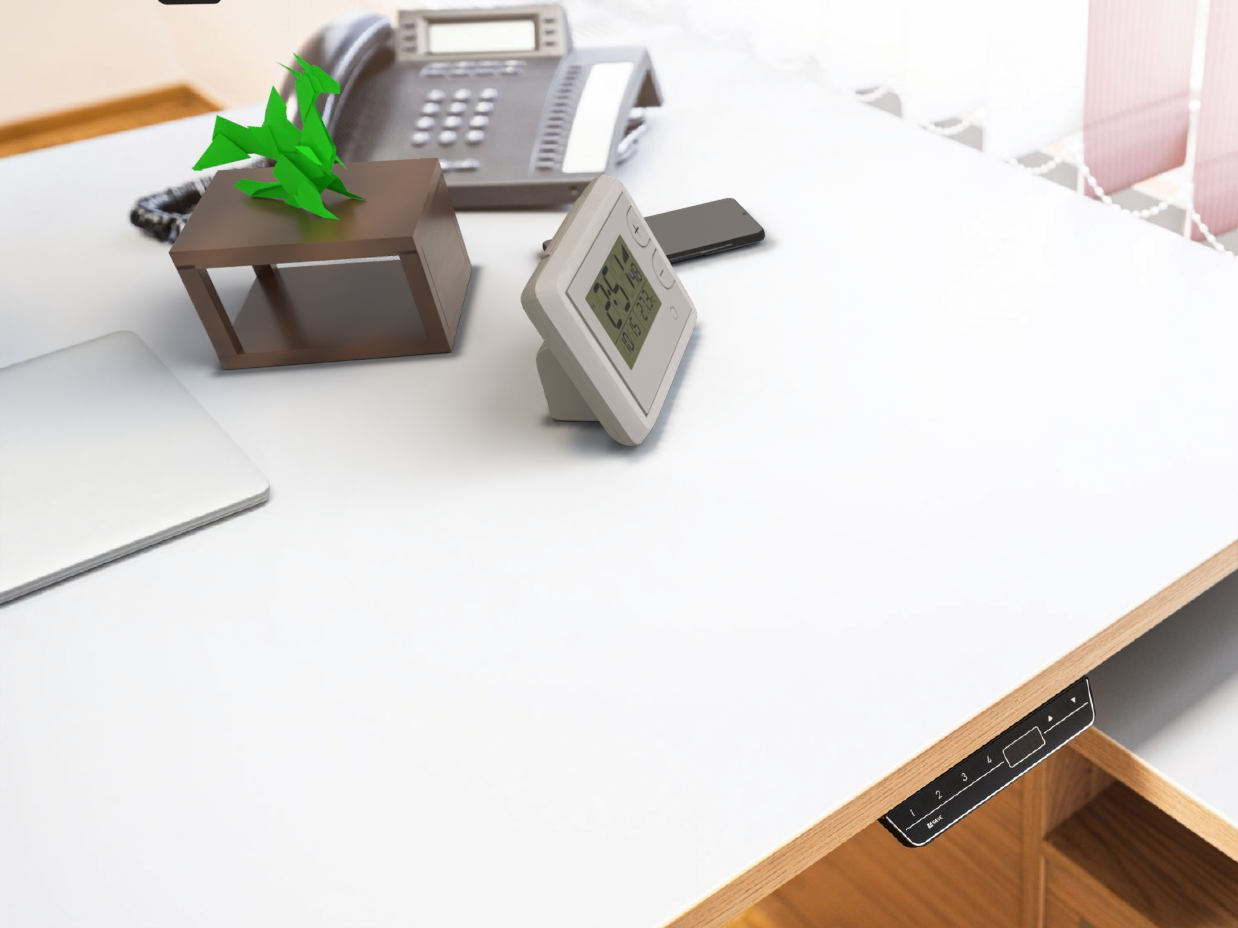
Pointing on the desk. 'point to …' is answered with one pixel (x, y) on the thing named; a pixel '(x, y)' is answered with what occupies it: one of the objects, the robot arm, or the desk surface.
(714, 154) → the desk surface
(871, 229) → the desk surface
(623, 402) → the digital clock
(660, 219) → the smartphone
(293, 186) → the figurine
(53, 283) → the desk surface
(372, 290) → the stand
